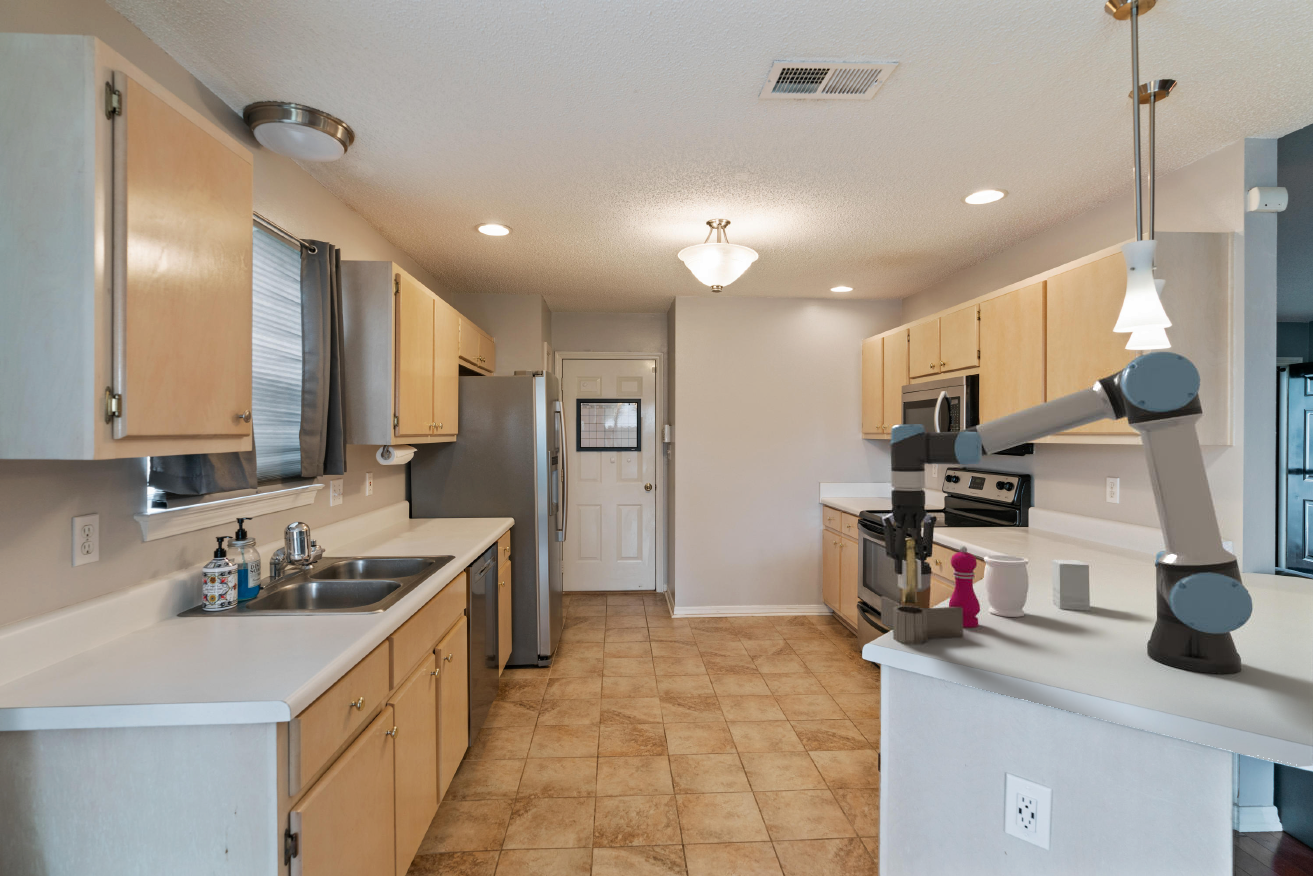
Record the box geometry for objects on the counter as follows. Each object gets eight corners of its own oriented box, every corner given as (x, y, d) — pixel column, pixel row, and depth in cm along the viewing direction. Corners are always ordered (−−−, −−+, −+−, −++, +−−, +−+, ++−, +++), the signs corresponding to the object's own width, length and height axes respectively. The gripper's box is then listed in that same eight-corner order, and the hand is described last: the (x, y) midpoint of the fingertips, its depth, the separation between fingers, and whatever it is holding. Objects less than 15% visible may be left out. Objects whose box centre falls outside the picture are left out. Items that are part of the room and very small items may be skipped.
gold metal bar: (918, 603, 149) (917, 539, 149) (907, 603, 148) (906, 540, 149) (912, 600, 152) (911, 537, 152) (900, 600, 151) (899, 538, 152)
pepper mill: (984, 623, 162) (982, 545, 162) (975, 630, 157) (974, 549, 157) (954, 618, 167) (953, 543, 167) (945, 624, 161) (943, 546, 162)
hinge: (971, 641, 148) (971, 611, 148) (903, 645, 146) (903, 614, 146) (930, 620, 165) (930, 594, 165) (869, 624, 163) (869, 597, 163)
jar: (1018, 608, 175) (1017, 554, 176) (1036, 619, 165) (1035, 562, 165) (978, 608, 177) (977, 554, 177) (994, 618, 166) (993, 561, 166)
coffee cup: (906, 613, 172) (906, 558, 172) (937, 619, 166) (937, 562, 166) (893, 619, 166) (892, 563, 166) (924, 626, 160) (923, 567, 160)
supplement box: (1090, 611, 172) (1089, 564, 172) (1059, 609, 174) (1058, 563, 175) (1082, 604, 179) (1081, 560, 179) (1052, 602, 181) (1051, 558, 182)
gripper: (930, 487, 155) (931, 582, 155) (868, 488, 153) (870, 585, 153) (948, 489, 148) (950, 589, 147) (884, 490, 145) (885, 592, 145)
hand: (909, 587), depth 150 cm, fingers closed on gold metal bar, 3 cm apart
